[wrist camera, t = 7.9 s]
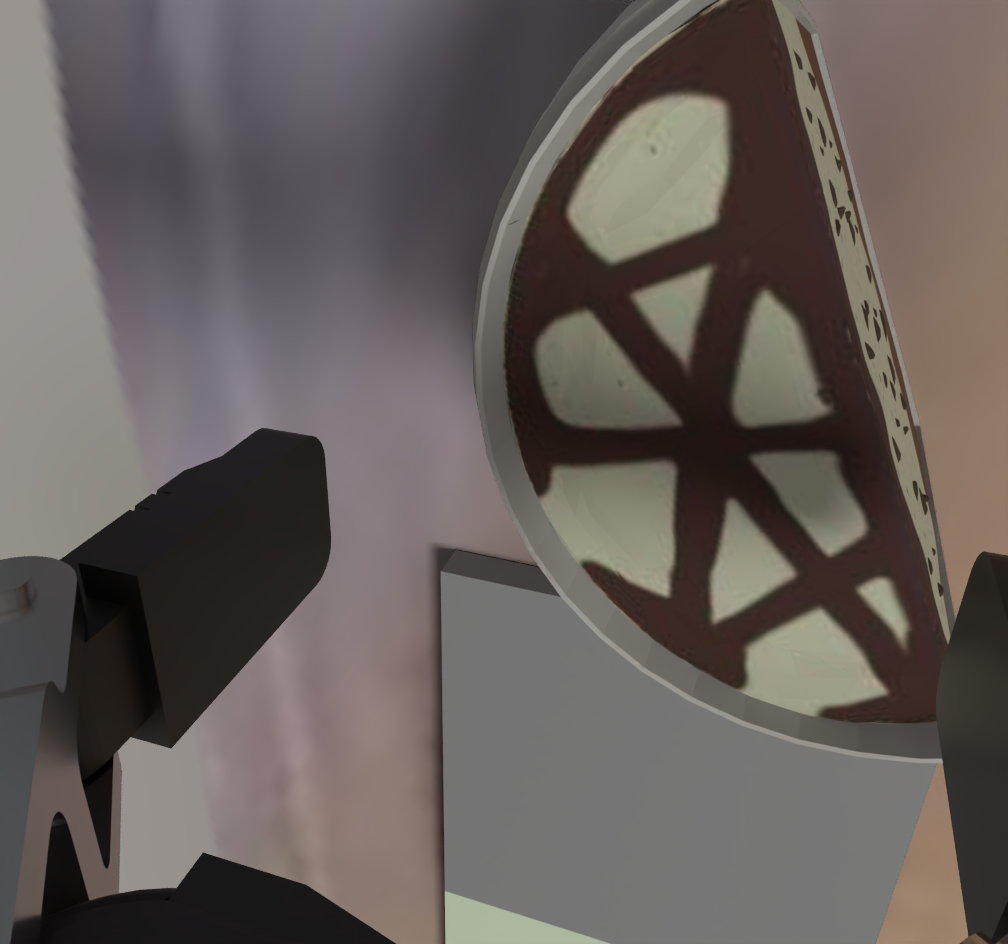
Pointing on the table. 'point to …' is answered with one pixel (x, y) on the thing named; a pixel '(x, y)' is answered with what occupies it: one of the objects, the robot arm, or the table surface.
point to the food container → (716, 384)
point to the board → (638, 795)
